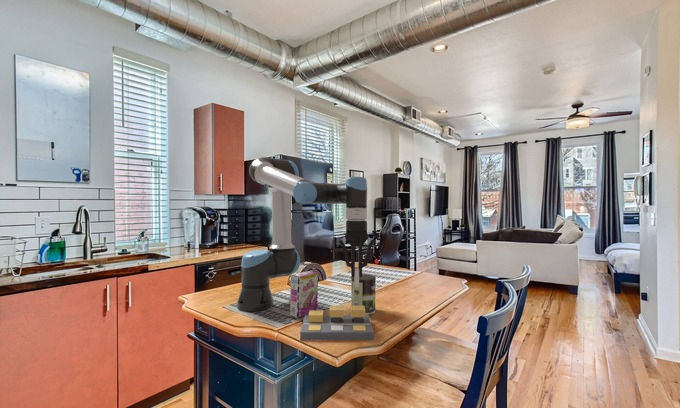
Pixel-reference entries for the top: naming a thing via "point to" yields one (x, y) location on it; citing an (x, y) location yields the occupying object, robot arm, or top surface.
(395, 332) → the top surface
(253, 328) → the top surface
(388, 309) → the top surface
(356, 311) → the button
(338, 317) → the button
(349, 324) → the board
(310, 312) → the button
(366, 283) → the coffee can
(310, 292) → the candy bar box
